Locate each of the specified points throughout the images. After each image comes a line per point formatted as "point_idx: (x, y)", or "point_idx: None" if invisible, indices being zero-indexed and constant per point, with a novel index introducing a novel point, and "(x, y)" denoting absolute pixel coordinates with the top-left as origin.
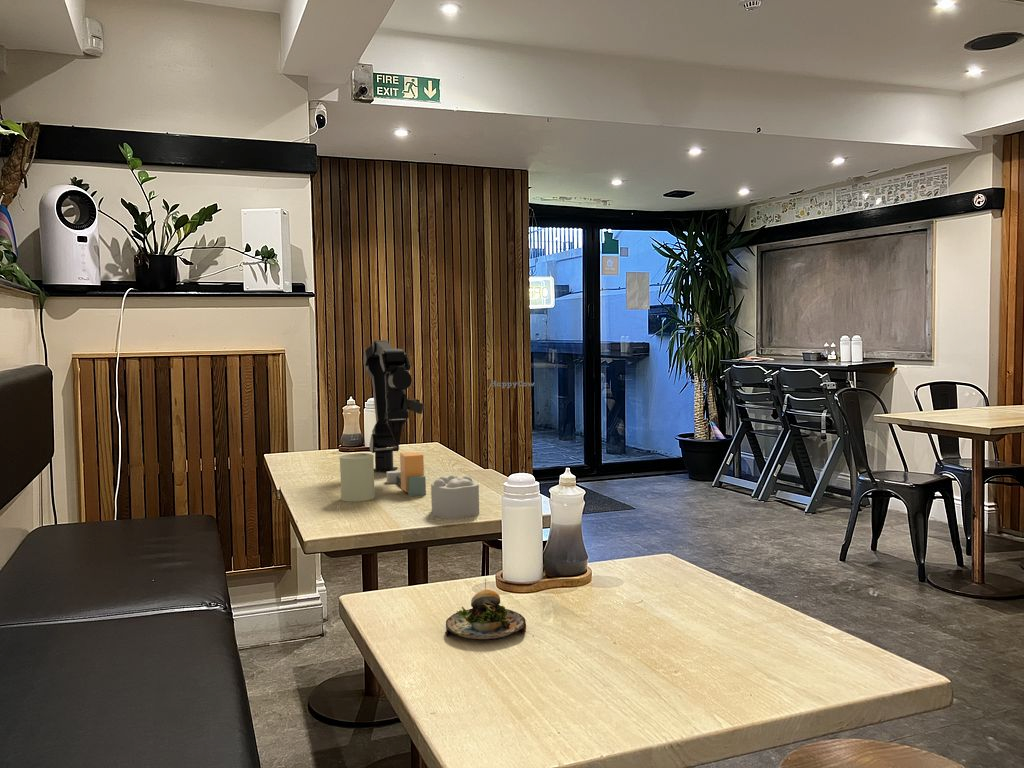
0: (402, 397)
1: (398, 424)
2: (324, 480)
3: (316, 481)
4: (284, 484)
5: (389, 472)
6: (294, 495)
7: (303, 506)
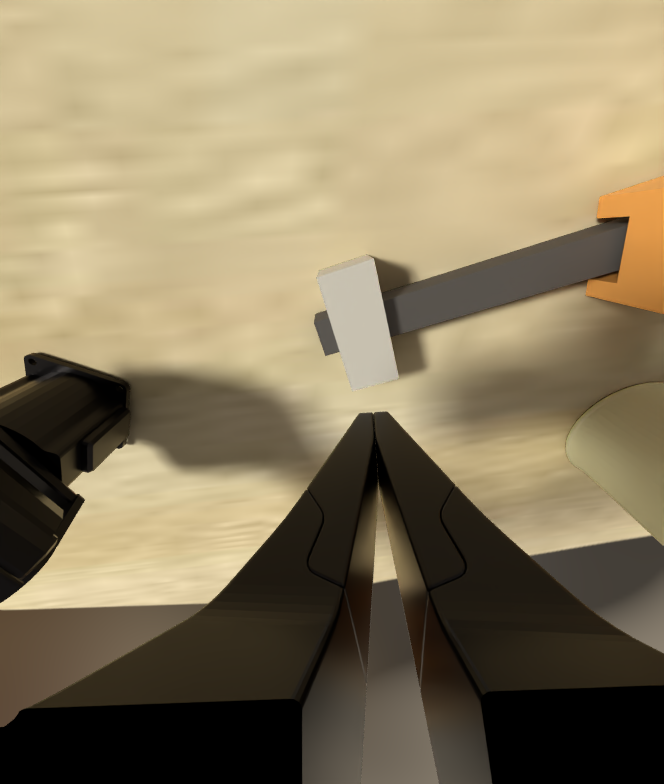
0: None
1: (514, 693)
2: None
3: None
4: None
5: (380, 376)
6: None
7: (635, 527)
